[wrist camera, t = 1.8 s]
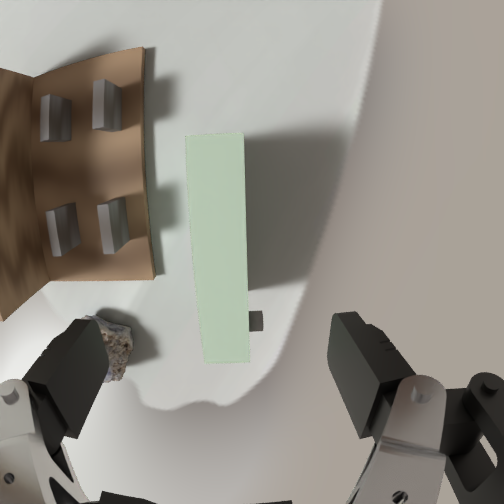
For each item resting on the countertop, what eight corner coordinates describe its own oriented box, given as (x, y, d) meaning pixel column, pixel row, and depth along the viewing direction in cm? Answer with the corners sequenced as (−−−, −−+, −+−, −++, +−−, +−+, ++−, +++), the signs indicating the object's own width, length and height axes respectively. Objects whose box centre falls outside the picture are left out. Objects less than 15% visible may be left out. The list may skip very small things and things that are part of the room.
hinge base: (29, 83, 20) (-31, 69, 11) (145, 50, 21) (106, 5, 12) (44, 277, 27) (-7, 320, 18) (155, 275, 28) (124, 331, 18)
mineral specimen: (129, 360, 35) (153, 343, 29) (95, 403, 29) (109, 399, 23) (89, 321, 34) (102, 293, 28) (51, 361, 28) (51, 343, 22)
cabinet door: (204, 145, 25) (185, 135, 14) (250, 143, 25) (263, 132, 14) (212, 292, 29) (204, 363, 18) (253, 290, 29) (265, 361, 19)
